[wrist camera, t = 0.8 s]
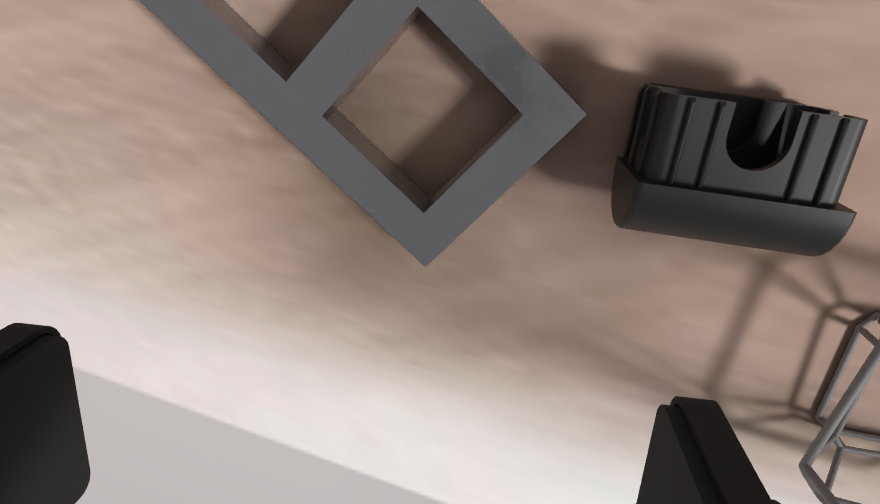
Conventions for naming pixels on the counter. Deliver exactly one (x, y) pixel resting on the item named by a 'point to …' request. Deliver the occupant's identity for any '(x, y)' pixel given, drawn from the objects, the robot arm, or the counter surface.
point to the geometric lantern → (841, 418)
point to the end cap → (736, 170)
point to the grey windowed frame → (345, 65)
